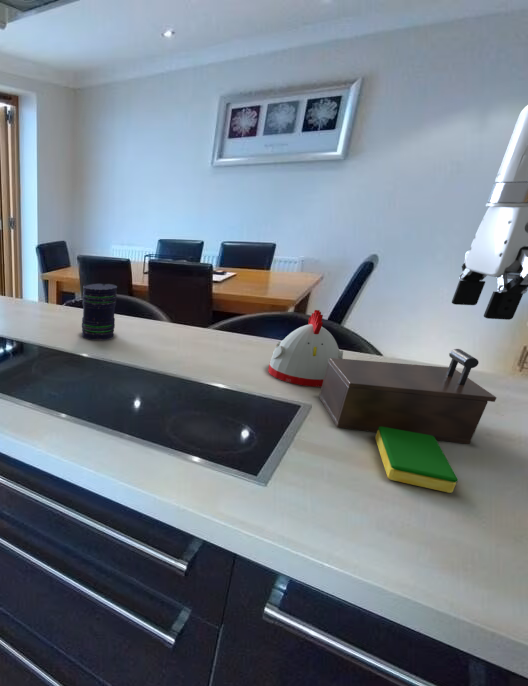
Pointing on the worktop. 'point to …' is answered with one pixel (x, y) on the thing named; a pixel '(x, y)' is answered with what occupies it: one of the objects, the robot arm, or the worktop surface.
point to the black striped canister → (98, 311)
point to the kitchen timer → (305, 354)
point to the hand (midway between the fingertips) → (479, 311)
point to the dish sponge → (415, 459)
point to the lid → (414, 377)
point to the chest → (400, 410)
